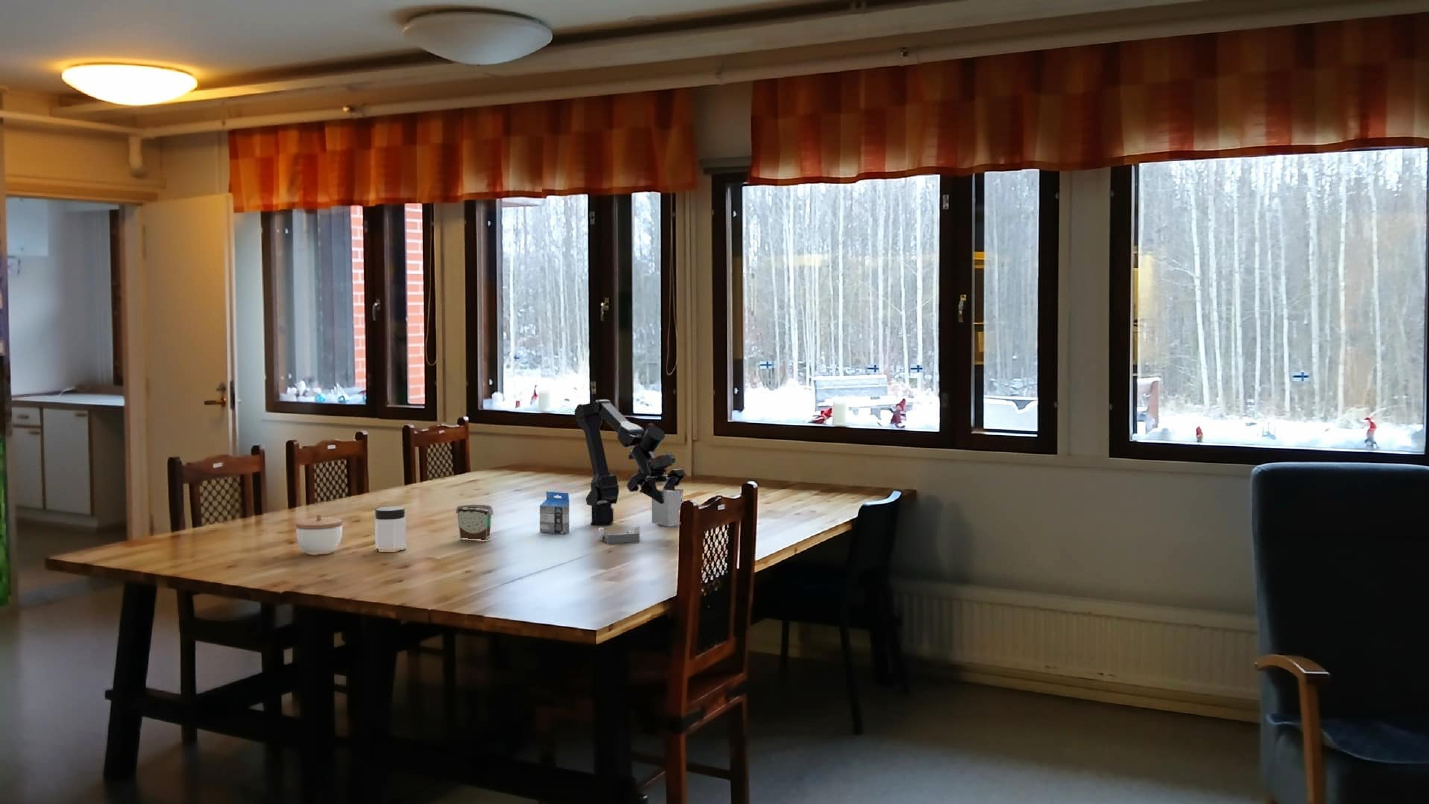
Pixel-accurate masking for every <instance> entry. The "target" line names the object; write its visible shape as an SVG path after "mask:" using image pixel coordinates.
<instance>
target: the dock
mask: <svg viewBox="0 0 1429 804" xmlns="http://www.w3.org/2000/svg"><path fill="white" fill-rule="evenodd" d="M633 527H634V531H633V530H632V529H628V530H627V531H626V533H625V532H624V533H613V534H611V533H608V534H607V533H606V532H605V531H604V528H603V527H598V528H597V538H598V541H604V542H605V543H606V544H607V545H608V544H620V543H621V544H623V542H628V543H639V542H640V538H641V533H640V532H641V527H640V525H634V526H633Z"/></svg>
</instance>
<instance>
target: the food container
mask: <svg viewBox="0 0 1429 804" xmlns="http://www.w3.org/2000/svg"><path fill="white" fill-rule="evenodd" d="M455 514H457V522H458V523H457V524H458V531H459V539H460V538H468V539H481V540H488V539H490V537H491V527H492V525H491V523H492V516H493V515H494V510H493V508H492V506H491V505H487V504H486V505H485V504H465V505H464V504H462V505H457V506H456V509H455Z"/></svg>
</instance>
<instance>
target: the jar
mask: <svg viewBox="0 0 1429 804" xmlns="http://www.w3.org/2000/svg"><path fill="white" fill-rule="evenodd" d="M374 510H375V511H374V513H375V515H374V516H375V517H374V534H375V535H374V537H375V538H374V539H375V540H374V541H375V549H376V548H378V549H396V548H404V547H406V548H407V526H406V525H407V523H406V517H405V514H406V513H405V512H406V511H405V507H403V506H400V505H398V506H397V505H395V506H391V505H390V506H381V507H378V508H375V509H374Z"/></svg>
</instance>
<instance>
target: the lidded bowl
mask: <svg viewBox="0 0 1429 804" xmlns="http://www.w3.org/2000/svg"><path fill="white" fill-rule="evenodd" d="M343 523H344V522H343V519H341V518H339V517H328V516H327V517H325V516H324V517H322V513H318V514H317V513H316V517H311V518H305V519H299V520H297V521H295V528H296V530H295V531H296V539H297V542H298V544H299V547H300V548H301V549H302V550H303V551H304V552H305V551H307V552H327V551H333V550H334V551H335V550H336V549H337V548H338V547H339V545H340V543H341V540H342V537H343ZM334 551H333V552H334ZM307 552H306V553H307Z"/></svg>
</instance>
